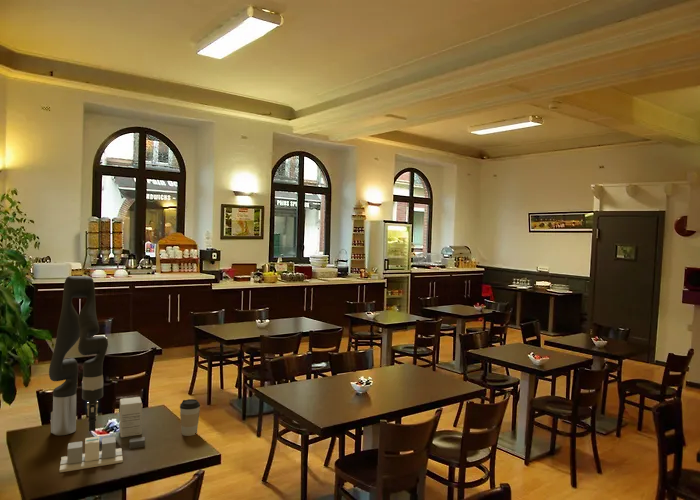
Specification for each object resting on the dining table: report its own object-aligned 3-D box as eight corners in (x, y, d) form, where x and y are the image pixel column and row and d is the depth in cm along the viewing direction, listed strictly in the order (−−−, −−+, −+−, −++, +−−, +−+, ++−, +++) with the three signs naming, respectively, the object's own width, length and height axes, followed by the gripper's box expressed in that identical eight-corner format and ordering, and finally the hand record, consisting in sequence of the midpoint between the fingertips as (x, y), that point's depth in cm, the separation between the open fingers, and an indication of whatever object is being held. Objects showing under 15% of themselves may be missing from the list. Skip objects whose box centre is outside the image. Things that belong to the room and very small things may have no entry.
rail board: (59, 472, 193) (59, 453, 193) (61, 459, 204) (61, 441, 204) (122, 462, 203) (122, 444, 203) (121, 450, 214) (121, 433, 213)
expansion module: (84, 461, 200) (85, 443, 199) (85, 455, 205) (85, 437, 205) (99, 459, 202) (99, 441, 202) (99, 453, 207) (99, 435, 207)
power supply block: (129, 449, 216) (129, 442, 216) (129, 445, 219) (129, 438, 219) (144, 447, 218) (144, 440, 218) (144, 443, 222) (144, 436, 222)
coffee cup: (201, 429, 239) (202, 397, 238) (196, 436, 230) (197, 404, 229) (182, 428, 238) (183, 397, 238) (176, 436, 229) (177, 403, 229)
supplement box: (119, 430, 234) (119, 398, 234) (140, 427, 238) (140, 396, 238) (120, 437, 226) (120, 404, 226) (141, 434, 230) (142, 402, 230)
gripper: (82, 382, 207) (82, 422, 208) (81, 392, 194) (81, 435, 195) (103, 380, 210) (102, 420, 211) (103, 390, 198) (102, 432, 198)
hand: (92, 427), depth 203 cm, fingers open, 6 cm apart
